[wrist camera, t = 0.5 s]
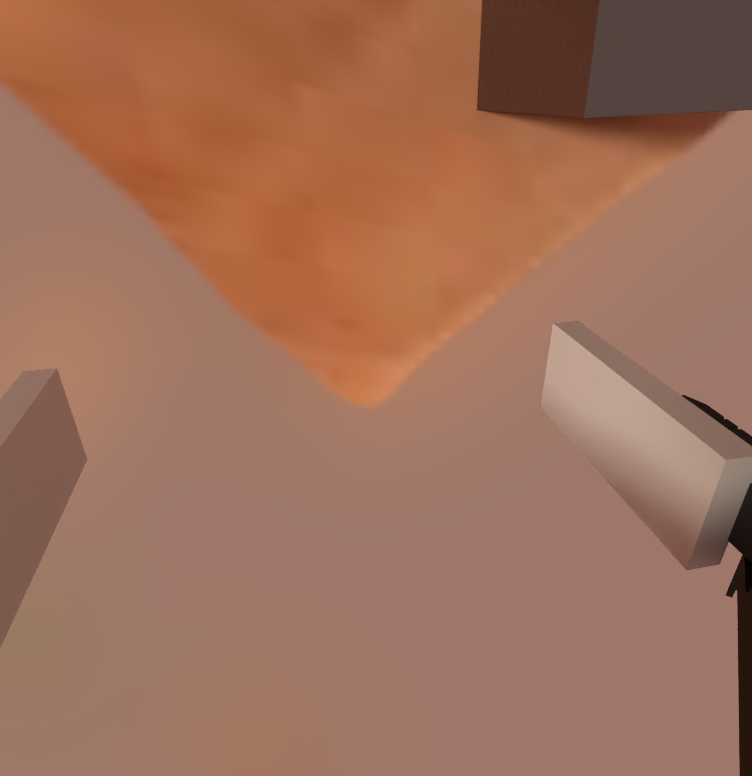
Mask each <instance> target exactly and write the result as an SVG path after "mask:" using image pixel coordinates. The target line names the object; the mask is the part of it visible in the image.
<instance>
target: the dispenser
mask: <svg viewBox="0 0 752 776" xmlns="http://www.w3.org/2000/svg"><path fill="white" fill-rule="evenodd" d="M477 110H485V111H498V112H511V113H525V114H538V115H551V116H564V117H578V118H594V117H615V116H635V115H656V114H676V113H697V112H718V111H738V110H752V0H483V1H482V21H481V41H480V61H479V82H478V102H477Z"/></svg>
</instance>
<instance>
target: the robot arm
mask: <svg viewBox="0 0 752 776" xmlns="http://www.w3.org/2000/svg"><path fill="white" fill-rule="evenodd" d="M541 408H542V409H543V410H544V411H545V412H546V413H547V414H548V415H549V417H550V418H551V419H552V420H553V421H554V422H555V423H556V424H557V426H558V427H559V428H560V429H561V430H562V431H563V432H564V433H565V435H566V436H567V437H568V438H569V439H570V440H571V441H572V442H573V444H574V445H575V446H576V447H577V448H578V449H579V450H580V451H581V452H582V454H583V455H584V456H585V457H586V458H587V459H588V460H589V462H590V463H591V464H592V465H593V466H594V467H595V468H596V469H597V470H598V472H599V473H600V474H601V475H602V476H603V477H604V478H605V479H606V481H607V482H608V483H609V484H610V485H611V486H612V487H613V488H614V489H615V491H616V492H617V493H618V494H619V495H620V496H621V497H622V499H623V500H624V501H625V502H626V503H627V504H628V505H629V506H630V507H631V509H632V510H633V511H634V512H635V513H636V514H637V515H638V516H639V518H640V519H641V520H642V521H643V522H644V523H645V524H646V525H647V526H648V527H649V529H650V530H651V531H652V532H653V533H654V534H655V535H656V537H657V538H658V539H659V540H660V541H661V542H662V543H663V545H664V546H665V547H666V548H667V549H668V550H669V551H670V552H671V553H672V555H673V556H674V557H675V558H676V559H677V560H678V561H679V562H680V564H681V565H682V566H683V567H684V568H685V569H686V570H690V569H696V568H702V567H707V566H713V565H718V564H720V562H721V560H722V557H723V555H724V552H725V550H726V547H727V544H728V542H730V543H731V544H732V545H733V546H734V547H735V548H737V550H738V551H740V552H741V553H742V554H743V555H742V557H741V560H740V562H739V564H738V567H737V569H736V572H735V574H734V576H733V579H732V581H731V583H730V586H729V588H728V591H727V593H726V596H729V597H732V596H733V594H734V592H735V591H736V590H737V604H738V676H739V677H738V678H739V757H740V776H752V437H751V436H750V435H749V434H748V433H746V432H745V431H743V430H742V429H738V426H736V425H735V424H733V423H732V422H731V421H729V420H728V419H725V420H724V417H723V416H722V415H720V414H719V413H718V412H716V411H715V410H713V409H712V408H711V407H709V406H708V405H706V404H704V403H701V402H699V401H697V400H694V399H692V398H690V397H687V396H685V395H680V394H679V393H677V392H676V391H674V390H673V389H672V388H670V387H669V386H667V385H666V384H665V383H663V382H662V381H661V380H659V379H658V378H656V377H655V376H654V375H652V374H650V373H649V372H648V371H647V370H645V369H644V368H643V367H641V366H640V365H638V364H637V363H636V362H634V361H633V360H631V359H630V358H629V357H627V356H626V355H625V354H623V353H622V352H620V351H619V350H618V349H616V348H615V347H614V346H612V345H610V344H609V343H608V342H607V341H605V340H604V339H602V338H601V337H600V336H598V335H597V334H596V333H594V332H593V331H591V330H590V329H589V328H587V327H586V326H584V325H583V324H582V323H580V322H579V321H573V322H562V323H554V324H553V329H552V335H551V342H550V349H549V355H548V362H547V368H546V375H545V382H544V388H543V395H542V402H541ZM86 461H87V457H86V454H85V451H84V448H83V445H82V442H81V439H80V436H79V433H78V430H77V427H76V424H75V421H74V418H73V415H72V412H71V409H70V406H69V403H68V400H67V397H66V394H65V391H64V388H63V385H62V382H61V379H60V376H59V373H58V370H57V369H46V370H34V371H23V373H22V374H21V375H20V376H19V377H18V379H17V380H16V381H15V382H14V383H13V385H12V386H11V387H10V388H9V389H8V391H7V392H6V393H5V394H4V395H3V397H2V398H1V399H0V647H1V645H2V643H3V641H4V639H5V637H6V634H7V632H8V630H9V628H10V626H11V624H12V621H13V619H14V617H15V615H16V613H17V611H18V608H19V606H20V604H21V602H22V600H23V598H24V595H25V593H26V591H27V589H28V587H29V585H30V582H31V580H32V578H33V576H34V574H35V572H36V569H37V567H38V565H39V563H40V561H41V559H42V556H43V554H44V552H45V550H46V548H47V546H48V543H49V541H50V539H51V537H52V535H53V533H54V530H55V528H56V526H57V524H58V522H59V519H60V517H61V515H62V513H63V511H64V509H65V506H66V504H67V502H68V500H69V498H70V496H71V494H72V491H73V489H74V487H75V485H76V483H77V481H78V478H79V476H80V474H81V472H82V470H83V467H84V465H85V463H86Z"/></svg>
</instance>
